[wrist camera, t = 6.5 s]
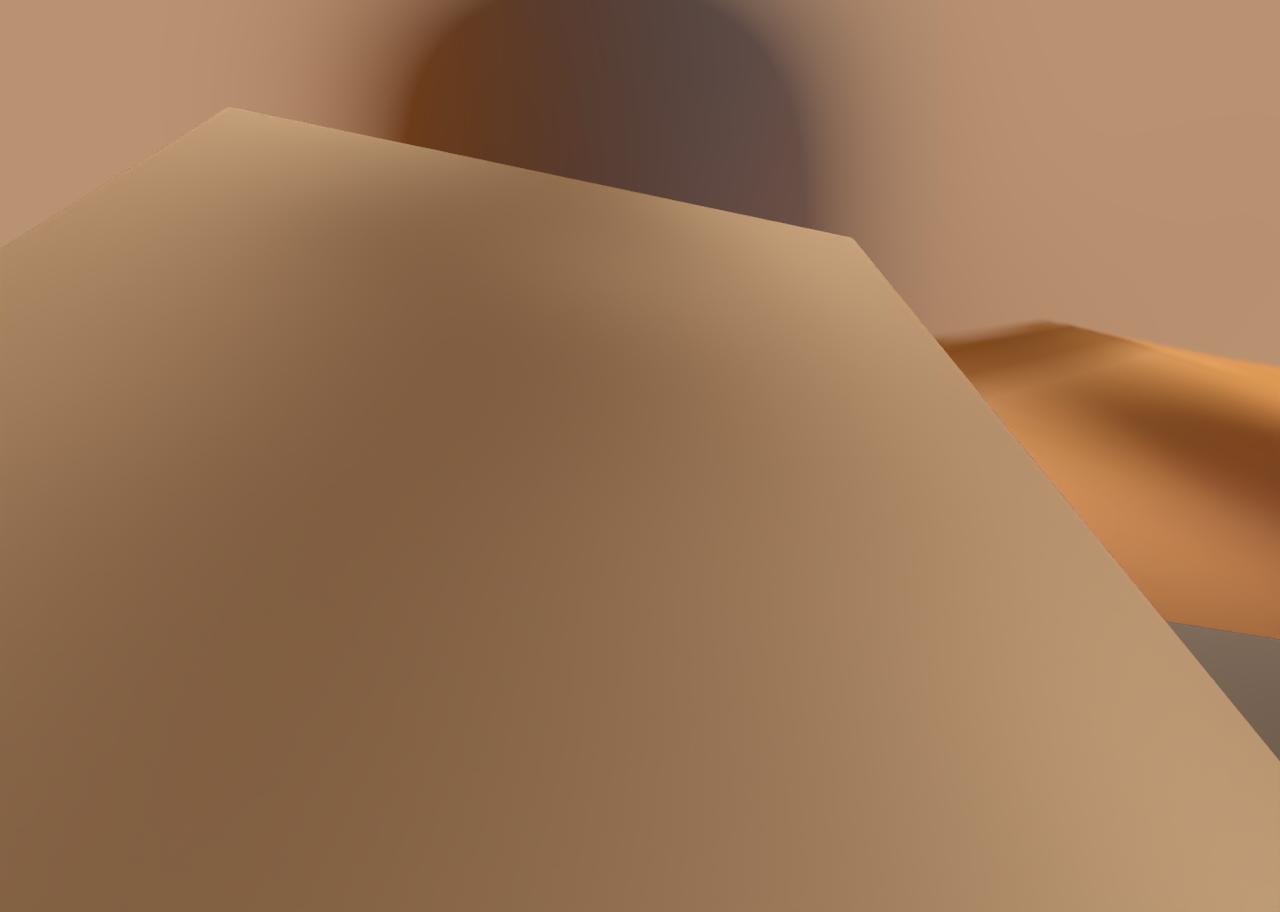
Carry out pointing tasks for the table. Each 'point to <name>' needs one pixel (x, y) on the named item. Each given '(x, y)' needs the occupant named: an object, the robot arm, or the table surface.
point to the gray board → (1241, 674)
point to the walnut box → (552, 571)
